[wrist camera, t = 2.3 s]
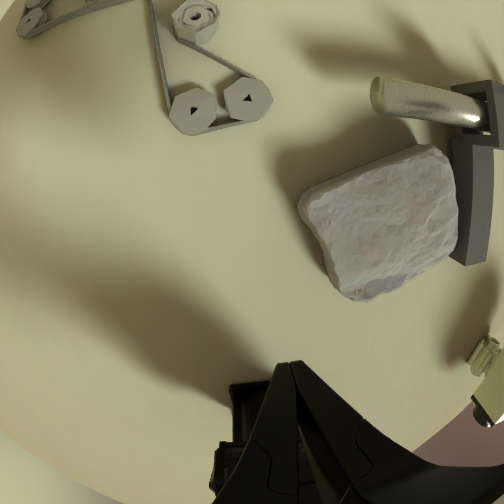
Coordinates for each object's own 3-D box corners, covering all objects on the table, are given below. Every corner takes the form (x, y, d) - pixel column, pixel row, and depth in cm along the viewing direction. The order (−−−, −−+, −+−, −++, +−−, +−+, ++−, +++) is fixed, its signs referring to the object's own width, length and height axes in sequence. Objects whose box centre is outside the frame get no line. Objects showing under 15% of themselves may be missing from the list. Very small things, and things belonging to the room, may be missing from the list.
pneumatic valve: (448, 384, 28) (488, 441, 16) (490, 312, 24) (547, 364, 13) (468, 380, 28) (506, 430, 17) (507, 314, 25) (558, 359, 13)
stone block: (433, 232, 22) (419, 130, 17) (463, 259, 18) (460, 144, 13) (325, 285, 24) (284, 185, 19) (343, 324, 20) (302, 212, 15)
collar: (447, 255, 20) (487, 280, 15) (445, 87, 15) (490, 79, 10) (468, 251, 20) (506, 274, 15) (468, 94, 15) (511, 89, 10)
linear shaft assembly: (356, 138, 17) (412, 135, 11) (348, 73, 16) (397, 42, 9) (522, 158, 18) (566, 167, 11) (519, 115, 16) (563, 119, 9)
